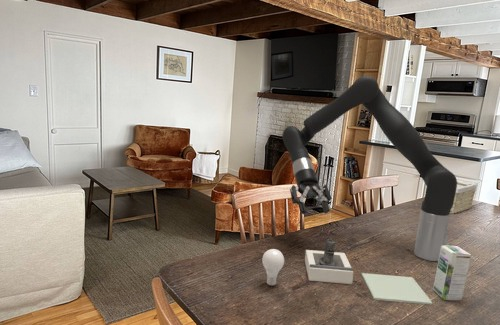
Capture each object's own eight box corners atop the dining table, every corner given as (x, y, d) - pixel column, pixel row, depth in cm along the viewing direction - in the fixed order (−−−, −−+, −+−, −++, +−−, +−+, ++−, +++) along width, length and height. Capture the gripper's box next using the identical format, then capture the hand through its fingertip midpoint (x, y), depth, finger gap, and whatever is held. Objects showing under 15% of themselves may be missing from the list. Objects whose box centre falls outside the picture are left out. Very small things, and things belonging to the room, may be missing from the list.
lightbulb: (284, 282, 104) (287, 247, 102) (279, 292, 98) (282, 256, 96) (264, 277, 106) (266, 243, 104) (257, 287, 100) (260, 252, 98)
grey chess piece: (336, 277, 109) (340, 241, 106) (317, 274, 110) (321, 239, 107) (335, 268, 114) (339, 234, 112) (317, 266, 115) (321, 232, 113)
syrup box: (431, 289, 105) (439, 244, 102) (450, 290, 106) (458, 245, 103) (443, 300, 99) (452, 253, 97) (463, 300, 100) (472, 254, 97)
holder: (343, 264, 118) (344, 250, 117) (351, 284, 105) (353, 269, 104) (304, 260, 119) (306, 247, 118) (308, 280, 106) (310, 265, 105)
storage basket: (453, 215, 180) (458, 188, 177) (422, 206, 193) (427, 180, 190) (473, 209, 194) (478, 183, 191) (444, 201, 207) (448, 177, 204)
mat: (412, 279, 111) (412, 277, 111) (432, 304, 97) (432, 302, 97) (361, 274, 111) (361, 273, 111) (374, 299, 98) (374, 297, 98)
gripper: (290, 167, 123) (300, 208, 115) (325, 167, 127) (338, 207, 119) (283, 178, 129) (292, 218, 120) (317, 178, 133) (329, 216, 125)
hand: (315, 212), depth 120 cm, fingers open, 8 cm apart
